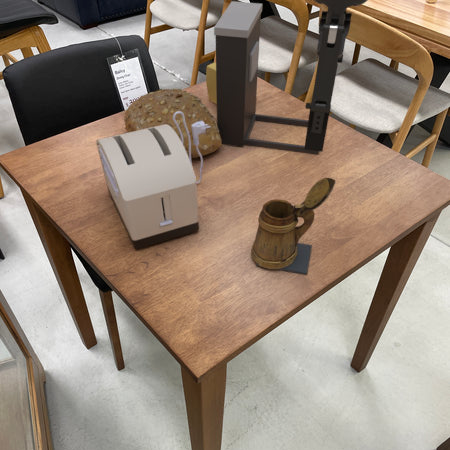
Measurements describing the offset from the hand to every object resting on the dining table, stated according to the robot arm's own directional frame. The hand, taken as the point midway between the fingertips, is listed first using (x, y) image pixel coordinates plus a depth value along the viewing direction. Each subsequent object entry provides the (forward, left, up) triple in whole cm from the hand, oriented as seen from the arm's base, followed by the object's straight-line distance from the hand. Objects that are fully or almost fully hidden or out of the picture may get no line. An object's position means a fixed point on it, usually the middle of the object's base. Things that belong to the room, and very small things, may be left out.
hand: (318, 126), depth 69 cm
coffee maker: (+13, -42, -27) cm, 51 cm away
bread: (+37, -32, -27) cm, 56 cm away
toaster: (+29, -7, -27) cm, 40 cm away
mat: (+2, +3, -27) cm, 27 cm away
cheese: (+27, -57, -27) cm, 68 cm away
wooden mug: (+2, +3, -26) cm, 27 cm away
